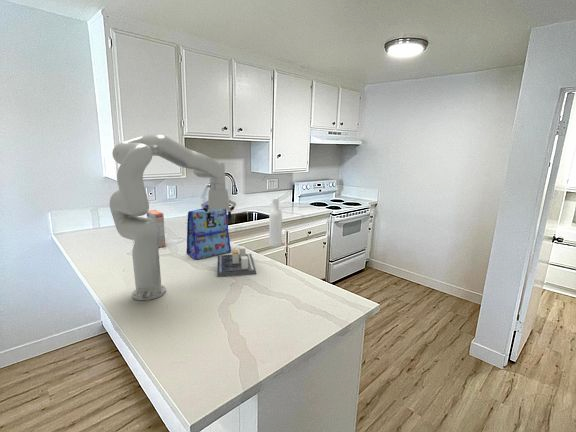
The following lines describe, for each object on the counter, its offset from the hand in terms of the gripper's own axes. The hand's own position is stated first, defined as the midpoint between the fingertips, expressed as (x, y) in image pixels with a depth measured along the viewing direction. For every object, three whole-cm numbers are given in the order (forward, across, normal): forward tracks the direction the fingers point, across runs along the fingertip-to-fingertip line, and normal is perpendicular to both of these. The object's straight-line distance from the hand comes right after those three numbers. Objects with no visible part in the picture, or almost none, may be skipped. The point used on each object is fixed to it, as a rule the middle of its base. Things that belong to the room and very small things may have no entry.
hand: (219, 219), depth 155 cm
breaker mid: (+21, +7, -8) cm, 23 cm away
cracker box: (+23, -38, +39) cm, 59 cm away
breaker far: (+21, +11, 0) cm, 24 cm away
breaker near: (+21, +10, -16) cm, 28 cm away
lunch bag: (+23, -6, +16) cm, 29 cm away
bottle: (+24, +34, +22) cm, 47 cm away
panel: (+23, +7, -8) cm, 25 cm away
